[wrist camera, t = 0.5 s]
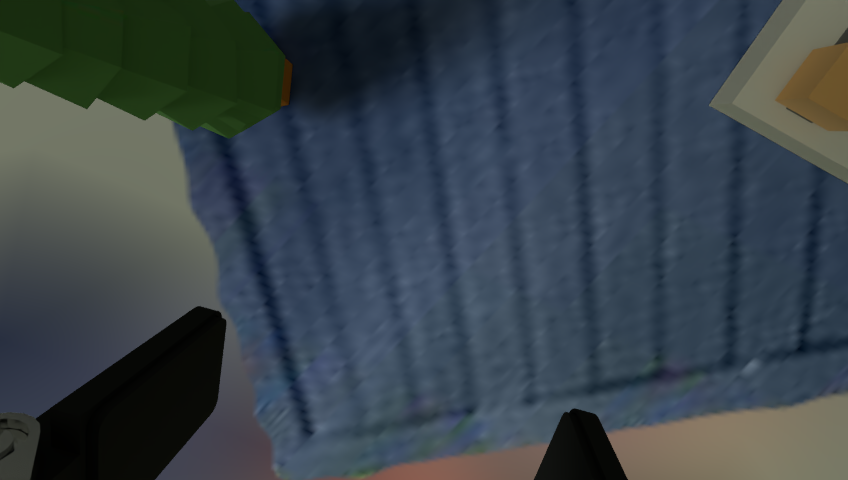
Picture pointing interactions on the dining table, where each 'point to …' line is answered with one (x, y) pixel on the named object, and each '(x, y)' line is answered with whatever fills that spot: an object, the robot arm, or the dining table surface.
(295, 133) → the dining table surface
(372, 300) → the dining table surface
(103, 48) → the decorative tree
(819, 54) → the tab
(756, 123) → the switch panel
